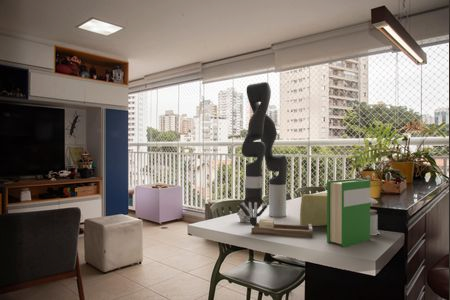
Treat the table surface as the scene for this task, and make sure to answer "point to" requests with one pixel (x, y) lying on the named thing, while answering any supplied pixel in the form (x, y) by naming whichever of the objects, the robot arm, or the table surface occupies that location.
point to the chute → (285, 230)
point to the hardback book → (348, 211)
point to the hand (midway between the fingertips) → (253, 225)
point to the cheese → (313, 209)
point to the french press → (373, 217)
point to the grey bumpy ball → (243, 215)
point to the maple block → (266, 223)
